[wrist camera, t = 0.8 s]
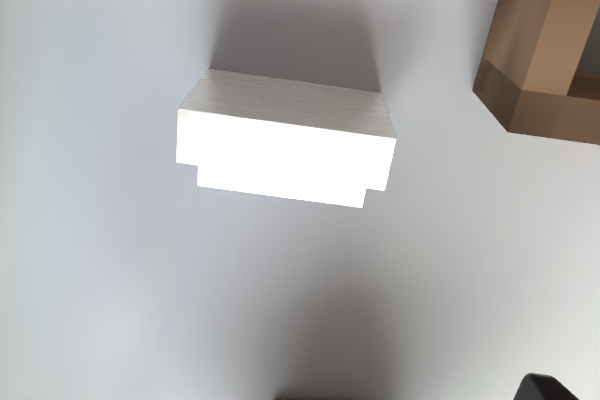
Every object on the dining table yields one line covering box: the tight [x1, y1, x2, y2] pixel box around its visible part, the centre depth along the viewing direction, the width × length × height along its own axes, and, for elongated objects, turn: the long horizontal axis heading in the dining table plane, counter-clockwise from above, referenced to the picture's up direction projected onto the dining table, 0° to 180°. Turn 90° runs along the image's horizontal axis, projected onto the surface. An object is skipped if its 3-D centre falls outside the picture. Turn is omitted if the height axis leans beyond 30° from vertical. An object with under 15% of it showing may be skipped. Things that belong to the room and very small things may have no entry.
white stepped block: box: [177, 68, 396, 208], centre depth 17 cm, size 6×4×4 cm, turn 83°
